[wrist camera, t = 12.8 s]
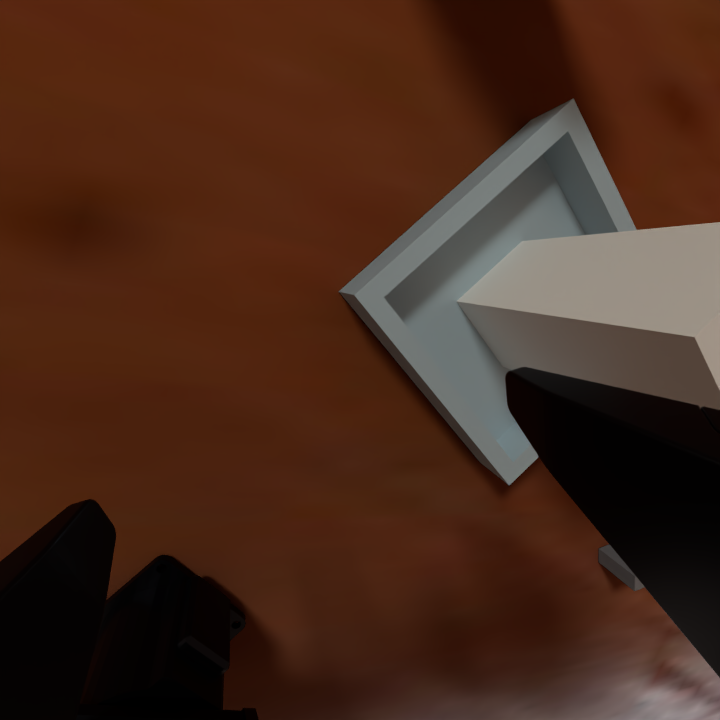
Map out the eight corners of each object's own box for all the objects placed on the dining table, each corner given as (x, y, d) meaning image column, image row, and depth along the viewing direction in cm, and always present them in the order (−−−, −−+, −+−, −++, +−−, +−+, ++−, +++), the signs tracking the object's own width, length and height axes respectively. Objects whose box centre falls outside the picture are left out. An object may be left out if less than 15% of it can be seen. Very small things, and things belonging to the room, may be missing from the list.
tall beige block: (502, 366, 24) (751, 458, 13) (456, 301, 23) (694, 336, 11) (575, 297, 25) (882, 323, 13) (536, 228, 23) (847, 186, 11)
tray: (479, 462, 26) (509, 485, 23) (338, 291, 21) (354, 295, 19) (633, 314, 27) (679, 319, 24) (531, 119, 22) (573, 98, 20)
